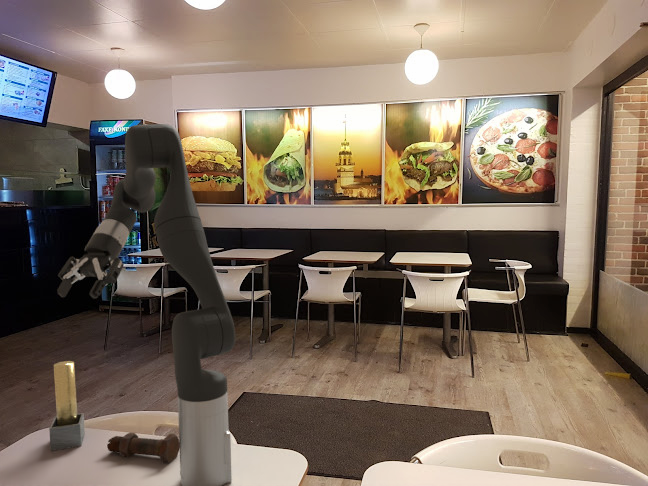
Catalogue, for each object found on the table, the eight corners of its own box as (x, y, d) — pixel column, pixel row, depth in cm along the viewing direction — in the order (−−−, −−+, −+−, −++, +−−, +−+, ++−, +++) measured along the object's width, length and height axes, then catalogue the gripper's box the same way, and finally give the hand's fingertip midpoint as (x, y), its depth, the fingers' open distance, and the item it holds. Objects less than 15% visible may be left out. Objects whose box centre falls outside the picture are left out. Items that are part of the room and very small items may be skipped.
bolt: (114, 458, 105) (176, 464, 101) (100, 457, 101) (164, 464, 97) (121, 430, 107) (182, 434, 104) (107, 428, 103) (170, 433, 99)
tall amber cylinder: (79, 436, 111) (75, 360, 110) (77, 444, 107) (72, 365, 106) (60, 439, 110) (55, 362, 108) (57, 447, 106) (52, 367, 105)
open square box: (84, 433, 112) (83, 413, 112) (81, 445, 107) (80, 424, 106) (55, 438, 110) (54, 417, 110) (50, 450, 105) (49, 428, 104)
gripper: (75, 231, 119) (40, 285, 108) (125, 231, 115) (94, 287, 105) (91, 251, 124) (59, 303, 114) (140, 251, 121) (112, 306, 111)
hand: (76, 295), depth 110 cm, fingers open, 8 cm apart
